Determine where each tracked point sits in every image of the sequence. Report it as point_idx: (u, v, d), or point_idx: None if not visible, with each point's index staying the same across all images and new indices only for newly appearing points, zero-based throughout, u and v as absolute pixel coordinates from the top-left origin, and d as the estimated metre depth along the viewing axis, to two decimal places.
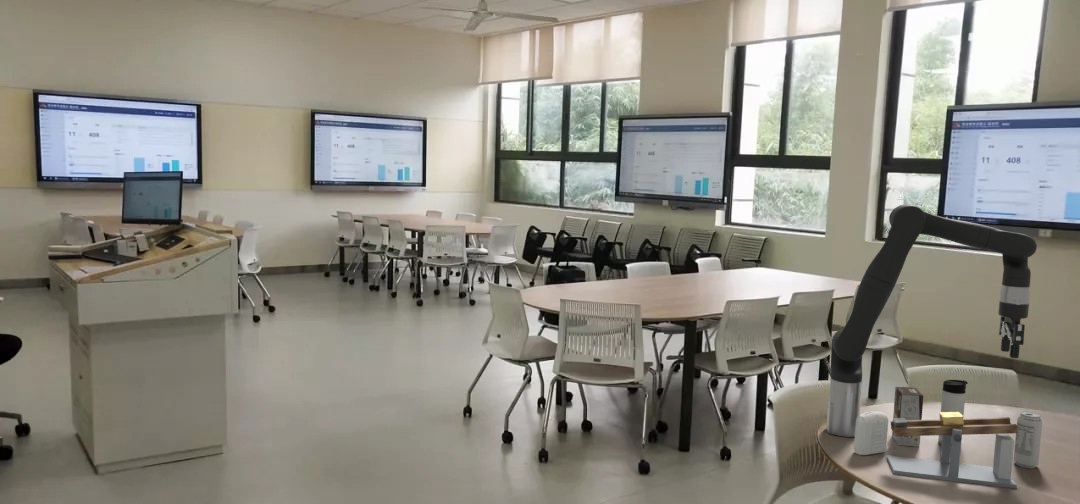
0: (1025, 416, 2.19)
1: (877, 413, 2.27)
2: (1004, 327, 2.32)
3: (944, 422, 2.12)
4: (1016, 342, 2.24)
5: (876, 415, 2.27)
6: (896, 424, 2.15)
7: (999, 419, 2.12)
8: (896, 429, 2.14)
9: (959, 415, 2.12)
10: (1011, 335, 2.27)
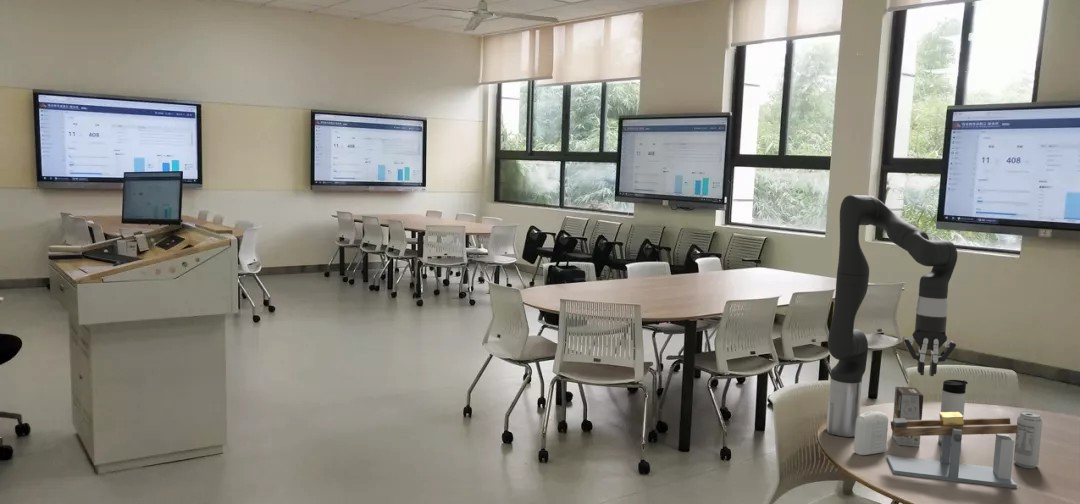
0: (1025, 416, 2.19)
1: (877, 413, 2.27)
2: (927, 343, 2.12)
3: (944, 422, 2.12)
4: None
5: (876, 415, 2.27)
6: (896, 424, 2.15)
7: (999, 419, 2.12)
8: (896, 429, 2.14)
9: (959, 415, 2.12)
10: None
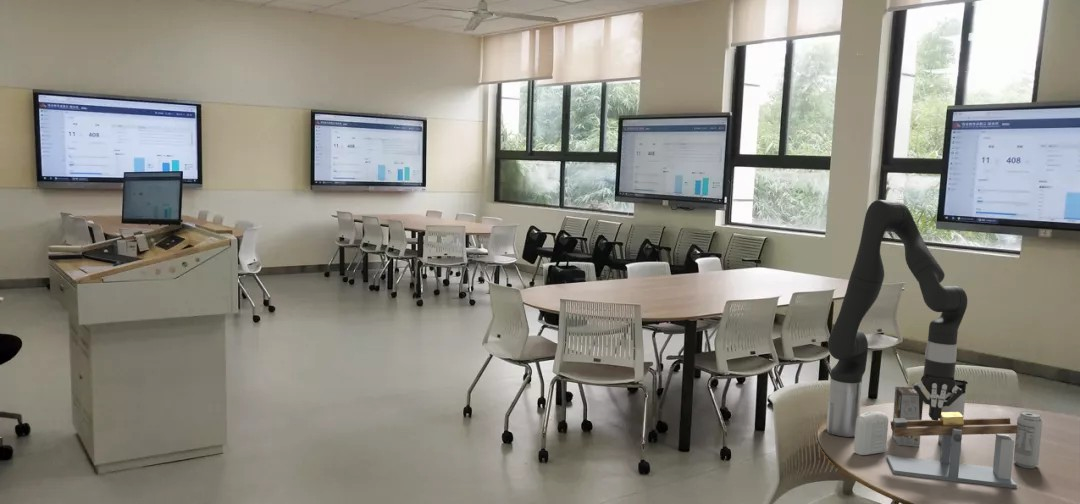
0: (1025, 416, 2.19)
1: (877, 413, 2.27)
2: None
3: (944, 422, 2.12)
4: None
5: (876, 415, 2.27)
6: (896, 424, 2.15)
7: (999, 419, 2.12)
8: (896, 429, 2.14)
9: (959, 415, 2.12)
10: None
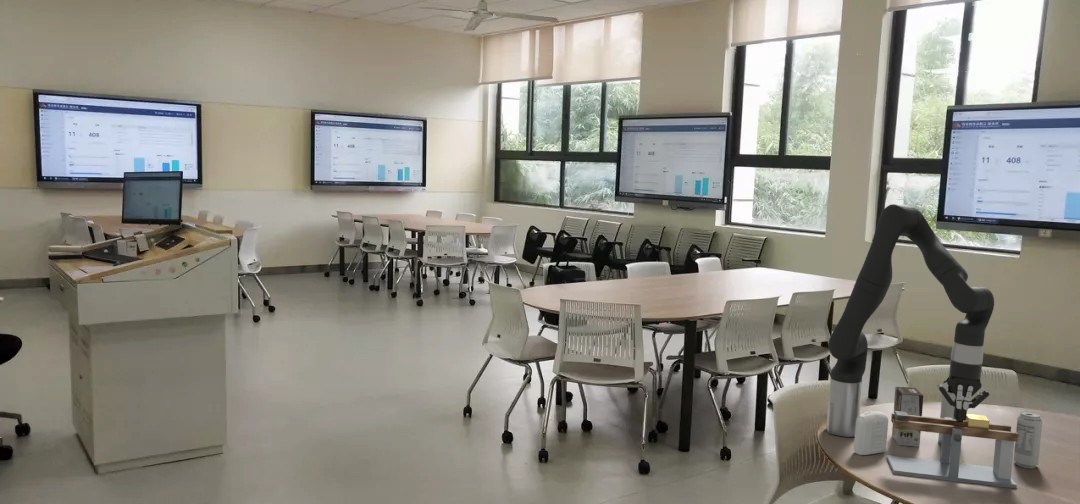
0: (1025, 416, 2.19)
1: (877, 413, 2.27)
2: None
3: (969, 423, 2.10)
4: None
5: (876, 415, 2.27)
6: (898, 416, 2.15)
7: (1000, 426, 2.12)
8: (897, 421, 2.14)
9: (985, 419, 2.10)
10: None
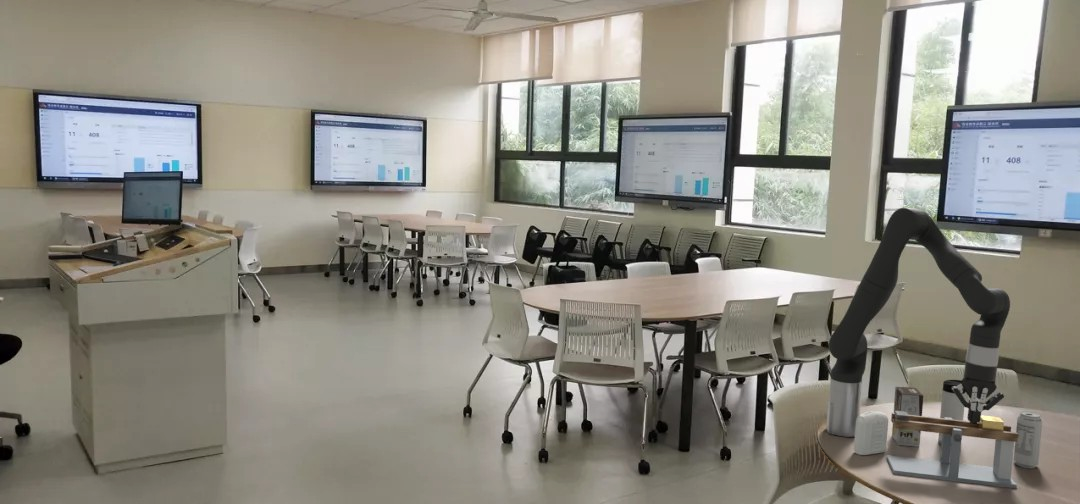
0: (1025, 416, 2.19)
1: (877, 413, 2.27)
2: (976, 392, 2.09)
3: (983, 425, 2.09)
4: None
5: (876, 415, 2.27)
6: (898, 416, 2.15)
7: None
8: (897, 421, 2.14)
9: (1000, 420, 2.09)
10: None
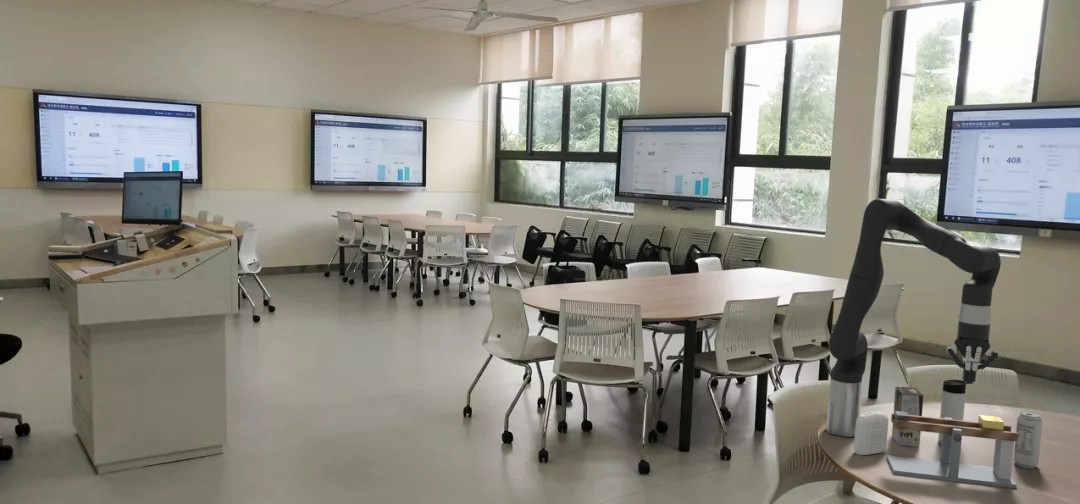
0: (1025, 416, 2.19)
1: (877, 413, 2.27)
2: (970, 351, 2.09)
3: (983, 425, 2.09)
4: None
5: (876, 415, 2.27)
6: (898, 416, 2.15)
7: None
8: (897, 421, 2.14)
9: (999, 420, 2.09)
10: None
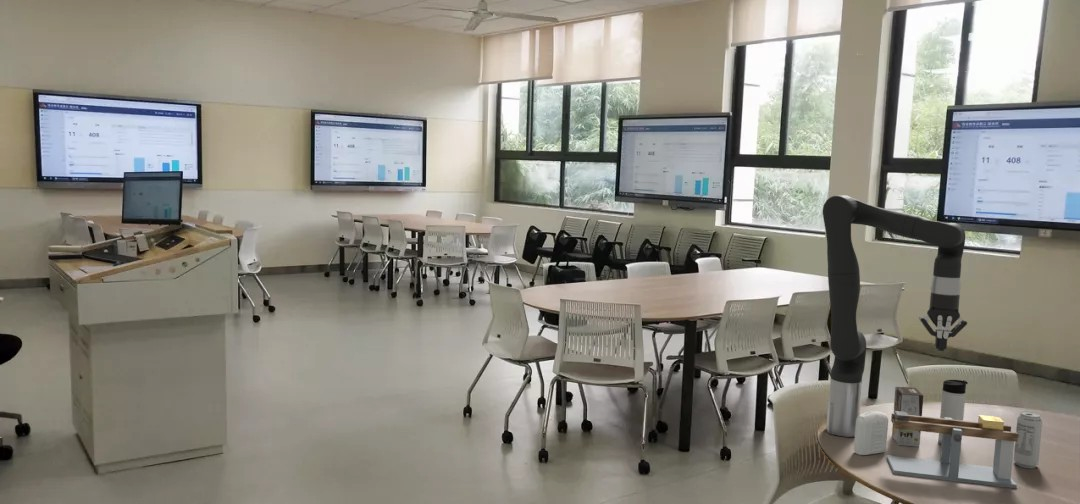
0: (1025, 416, 2.19)
1: (877, 413, 2.27)
2: (941, 320, 2.25)
3: (983, 425, 2.09)
4: None
5: (876, 415, 2.27)
6: (898, 416, 2.15)
7: None
8: (897, 421, 2.14)
9: (999, 420, 2.09)
10: None
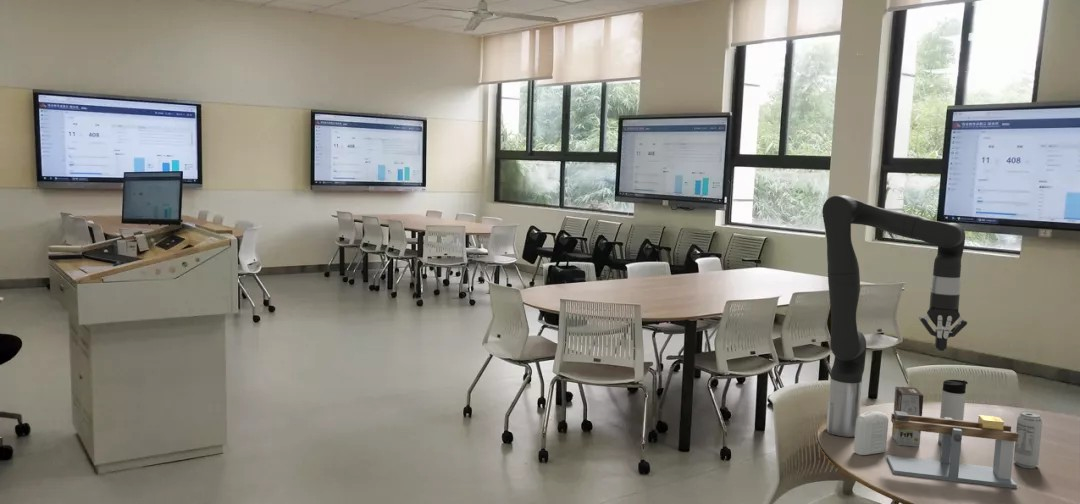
0: (1025, 416, 2.19)
1: (877, 413, 2.27)
2: (941, 320, 2.25)
3: (983, 425, 2.09)
4: None
5: (876, 415, 2.27)
6: (898, 416, 2.15)
7: None
8: (897, 421, 2.14)
9: (999, 420, 2.09)
10: None
